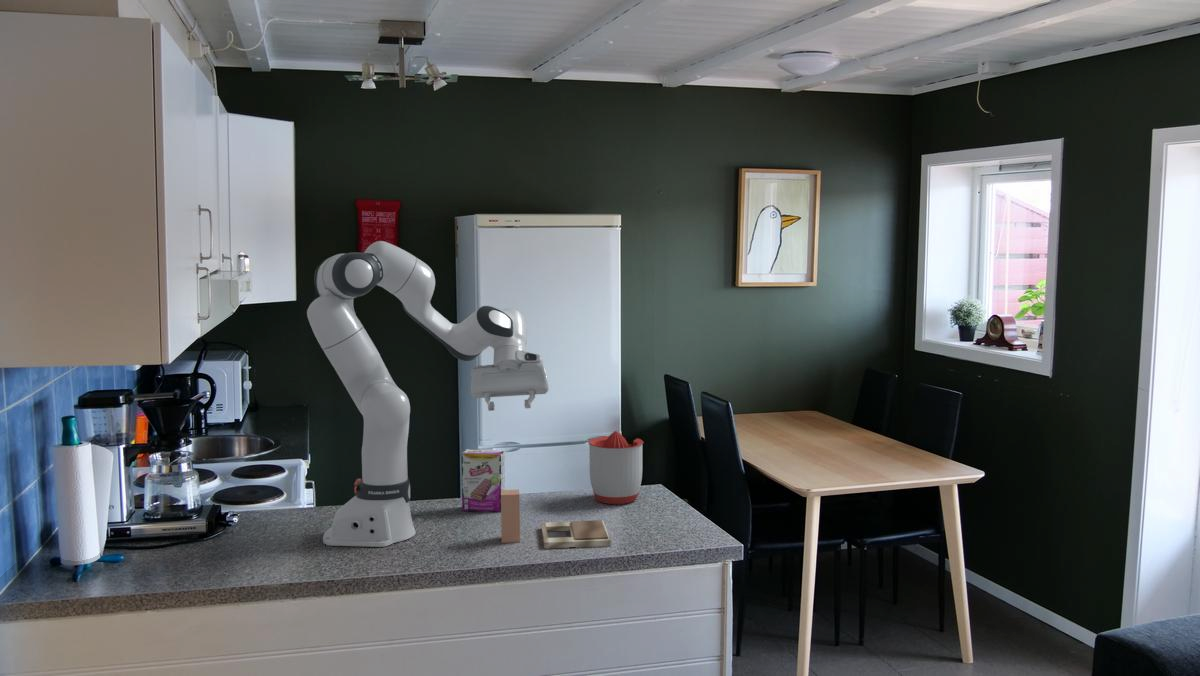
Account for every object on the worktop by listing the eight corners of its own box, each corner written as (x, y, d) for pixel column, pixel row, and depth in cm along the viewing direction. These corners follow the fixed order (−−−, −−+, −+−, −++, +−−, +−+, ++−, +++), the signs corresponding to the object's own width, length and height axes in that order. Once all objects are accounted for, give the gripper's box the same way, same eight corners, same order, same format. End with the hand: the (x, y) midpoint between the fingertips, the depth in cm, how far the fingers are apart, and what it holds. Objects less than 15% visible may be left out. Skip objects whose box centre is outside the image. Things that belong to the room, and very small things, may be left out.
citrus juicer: (656, 495, 270) (656, 427, 268) (625, 510, 255) (625, 438, 253) (610, 488, 278) (610, 422, 276) (578, 502, 264) (577, 432, 262)
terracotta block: (501, 542, 228) (500, 495, 227) (501, 537, 233) (500, 490, 232) (520, 542, 229) (519, 494, 228) (519, 536, 233) (518, 489, 232)
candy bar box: (461, 511, 255) (460, 452, 253) (466, 506, 260) (465, 448, 258) (501, 512, 254) (501, 453, 252) (505, 507, 259) (504, 449, 257)
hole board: (544, 548, 224) (544, 541, 224) (541, 528, 240) (541, 521, 239) (610, 546, 226) (610, 538, 225) (603, 526, 241) (603, 518, 241)
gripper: (469, 359, 245) (467, 404, 237) (546, 354, 244) (547, 399, 236) (473, 372, 250) (471, 417, 242) (549, 368, 250) (549, 412, 241)
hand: (509, 408), depth 239 cm, fingers open, 8 cm apart
